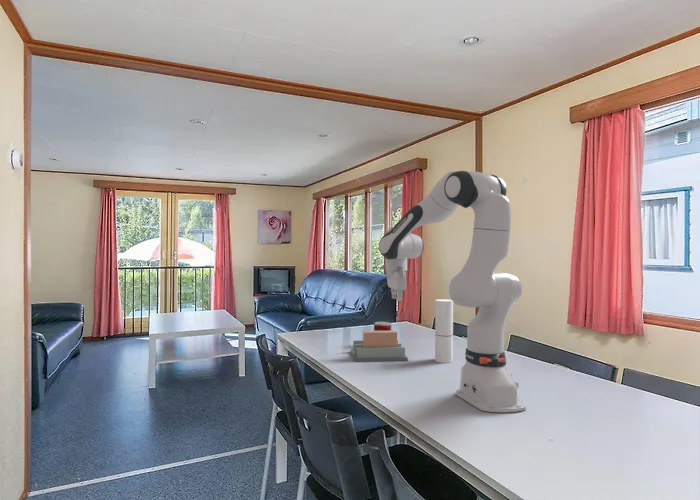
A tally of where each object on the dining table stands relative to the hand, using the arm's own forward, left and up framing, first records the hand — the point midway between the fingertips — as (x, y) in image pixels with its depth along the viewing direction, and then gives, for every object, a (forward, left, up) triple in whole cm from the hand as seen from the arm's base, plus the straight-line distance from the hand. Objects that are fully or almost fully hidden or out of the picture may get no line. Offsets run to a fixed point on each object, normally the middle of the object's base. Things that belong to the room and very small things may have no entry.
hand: (396, 299), depth 177 cm
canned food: (+25, +1, -25) cm, 36 cm away
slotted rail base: (+7, +6, -25) cm, 27 cm away
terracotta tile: (+4, +6, -24) cm, 25 cm away
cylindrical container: (-2, -20, -25) cm, 32 cm away
